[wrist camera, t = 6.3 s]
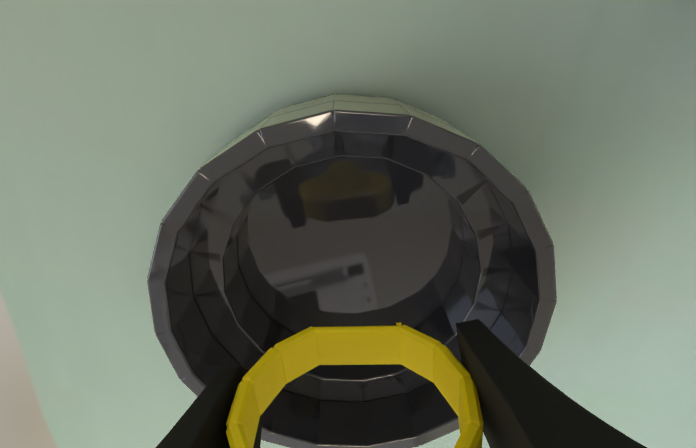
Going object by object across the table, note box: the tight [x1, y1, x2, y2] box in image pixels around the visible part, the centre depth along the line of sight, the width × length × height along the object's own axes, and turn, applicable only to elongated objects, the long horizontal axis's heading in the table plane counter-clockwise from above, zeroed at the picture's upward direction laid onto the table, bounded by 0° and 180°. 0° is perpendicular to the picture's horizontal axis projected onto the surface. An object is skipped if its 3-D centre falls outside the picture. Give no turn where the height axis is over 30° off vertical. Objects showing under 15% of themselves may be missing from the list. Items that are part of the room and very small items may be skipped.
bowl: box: [147, 94, 557, 448], centre depth 16 cm, size 14×14×5 cm
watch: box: [226, 322, 484, 448], centre depth 10 cm, size 6×3×6 cm, turn 94°
